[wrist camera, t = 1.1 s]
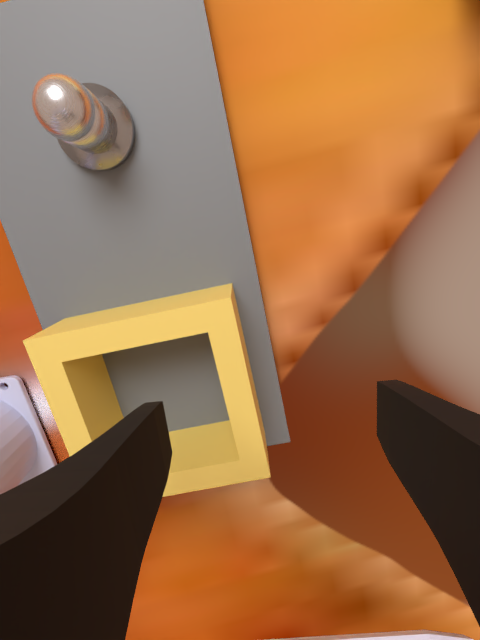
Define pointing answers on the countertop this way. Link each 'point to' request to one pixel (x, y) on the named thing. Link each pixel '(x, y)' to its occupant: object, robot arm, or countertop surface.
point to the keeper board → (133, 194)
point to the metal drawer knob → (85, 121)
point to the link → (142, 329)
